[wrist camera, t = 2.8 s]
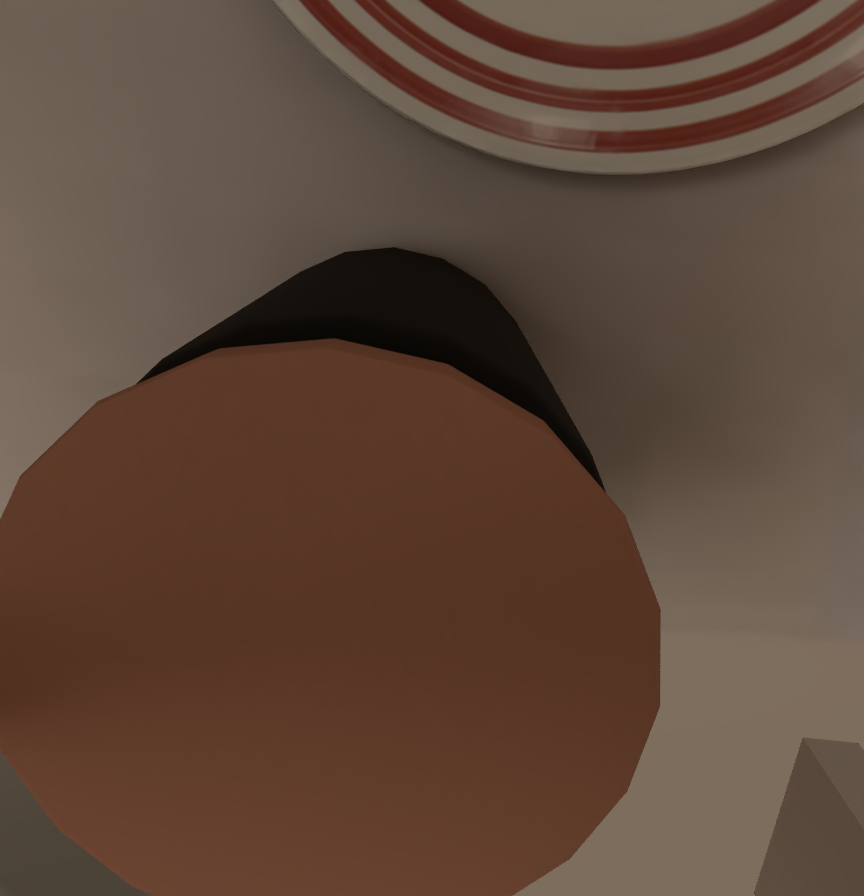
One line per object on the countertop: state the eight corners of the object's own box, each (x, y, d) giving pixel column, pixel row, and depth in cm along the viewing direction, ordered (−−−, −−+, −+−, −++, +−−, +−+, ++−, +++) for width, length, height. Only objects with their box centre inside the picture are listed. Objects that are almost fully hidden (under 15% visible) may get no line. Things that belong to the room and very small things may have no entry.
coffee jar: (295, 548, 31) (120, 991, 14) (206, 286, 28) (-165, 448, 11) (557, 488, 30) (712, 884, 13) (497, 210, 27) (601, 254, 10)
